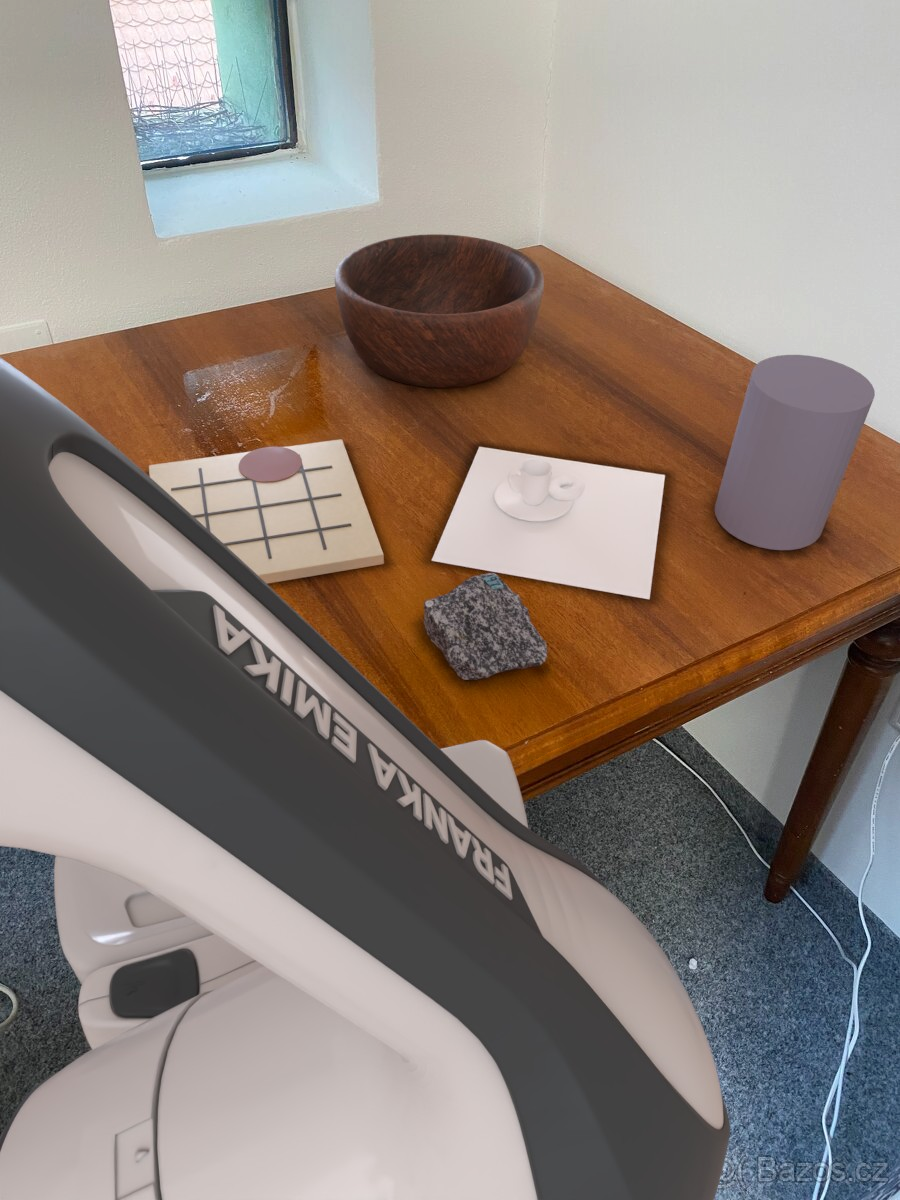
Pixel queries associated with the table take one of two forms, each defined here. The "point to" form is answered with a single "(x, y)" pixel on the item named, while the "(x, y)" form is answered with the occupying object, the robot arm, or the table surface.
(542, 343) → the table surface
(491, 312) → the wooden bowl
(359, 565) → the board
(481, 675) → the rock
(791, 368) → the container
